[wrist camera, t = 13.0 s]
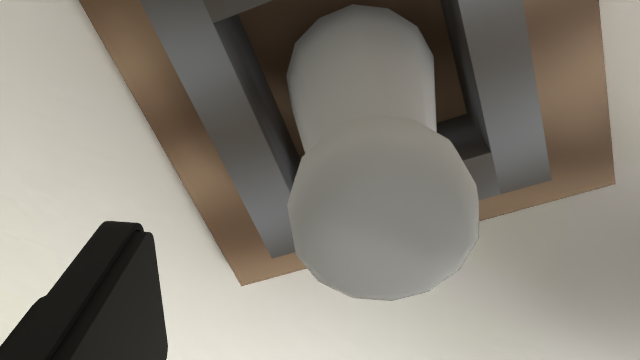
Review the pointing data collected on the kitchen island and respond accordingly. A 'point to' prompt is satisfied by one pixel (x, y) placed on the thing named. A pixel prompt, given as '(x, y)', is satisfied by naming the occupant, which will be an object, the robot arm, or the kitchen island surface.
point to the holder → (280, 126)
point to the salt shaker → (375, 160)
